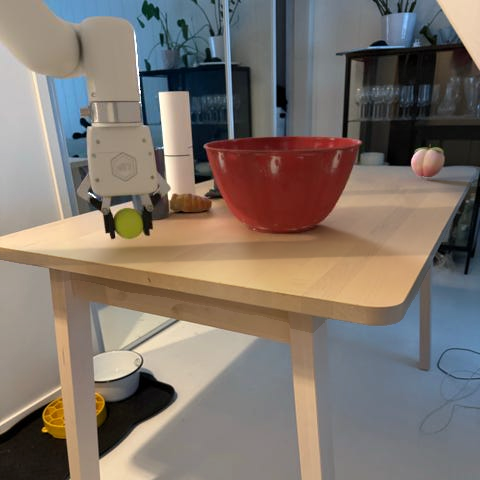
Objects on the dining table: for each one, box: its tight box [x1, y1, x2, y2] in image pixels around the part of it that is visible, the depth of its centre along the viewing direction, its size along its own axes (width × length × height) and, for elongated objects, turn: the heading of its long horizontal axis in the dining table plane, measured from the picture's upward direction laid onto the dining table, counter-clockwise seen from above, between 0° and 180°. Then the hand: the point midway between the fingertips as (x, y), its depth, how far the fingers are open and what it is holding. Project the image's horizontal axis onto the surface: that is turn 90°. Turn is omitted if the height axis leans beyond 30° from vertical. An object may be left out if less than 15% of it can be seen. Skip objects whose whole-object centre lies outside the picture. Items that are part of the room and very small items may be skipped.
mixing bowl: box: [203, 135, 363, 234], centre depth 87 cm, size 28×28×15 cm
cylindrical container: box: [158, 90, 197, 201], centre depth 115 cm, size 7×7×25 cm
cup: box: [131, 146, 171, 221], centre depth 98 cm, size 8×8×14 cm
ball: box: [113, 207, 144, 240], centre depth 75 cm, size 5×5×5 cm
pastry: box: [169, 193, 213, 213], centre depth 105 cm, size 9×7×4 cm
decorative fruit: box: [410, 143, 446, 178], centre depth 136 cm, size 9×8×10 cm
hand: (129, 234), depth 76 cm, fingers closed on ball, 4 cm apart
